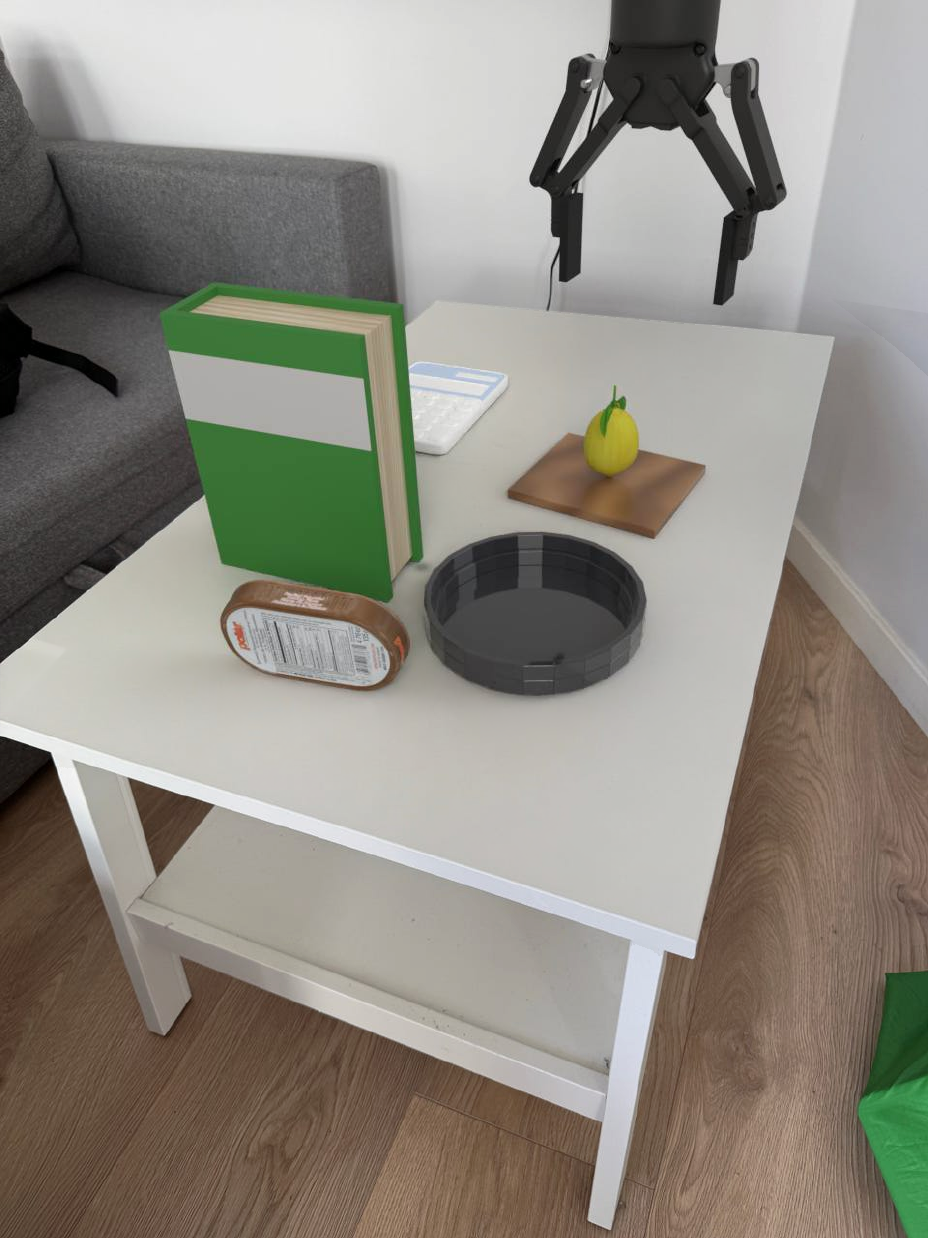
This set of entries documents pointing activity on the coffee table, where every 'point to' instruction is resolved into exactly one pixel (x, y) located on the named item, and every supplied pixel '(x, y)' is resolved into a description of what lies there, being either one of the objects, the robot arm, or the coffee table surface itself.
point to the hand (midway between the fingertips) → (643, 288)
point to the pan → (534, 612)
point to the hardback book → (301, 432)
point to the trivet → (609, 487)
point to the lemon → (611, 439)
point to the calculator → (449, 402)
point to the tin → (315, 635)
